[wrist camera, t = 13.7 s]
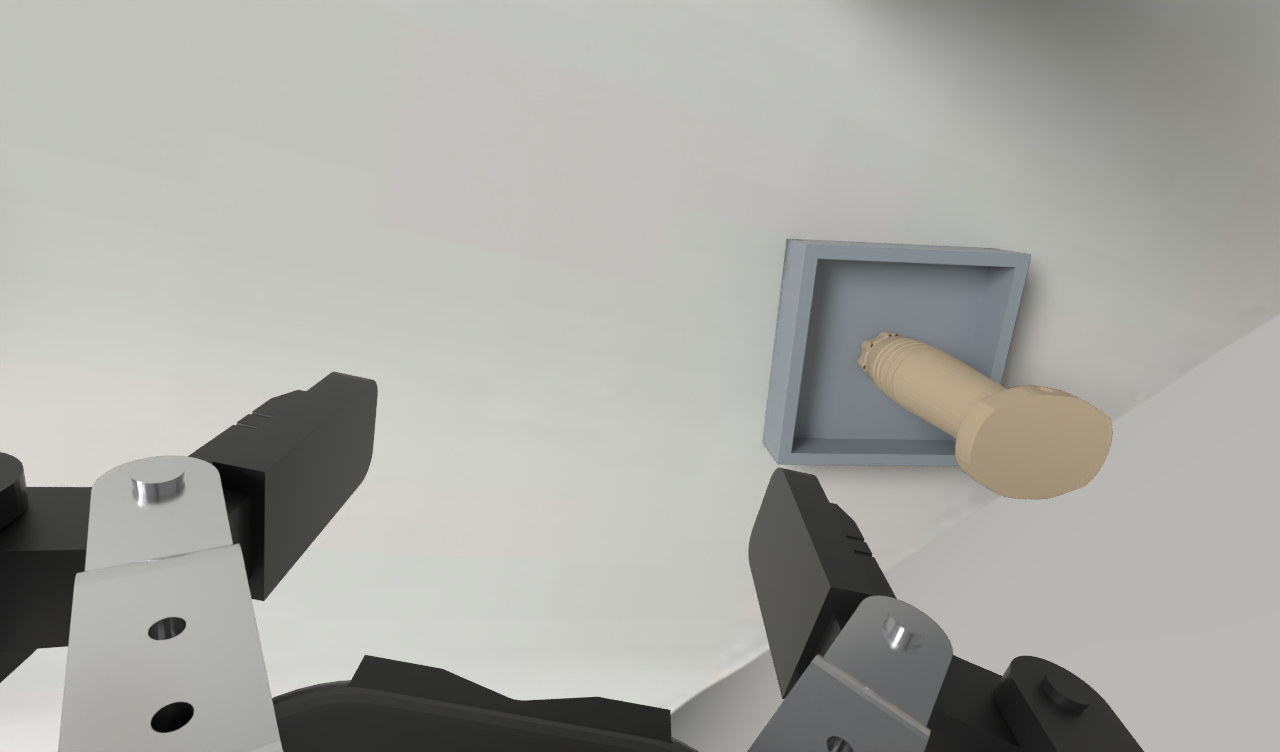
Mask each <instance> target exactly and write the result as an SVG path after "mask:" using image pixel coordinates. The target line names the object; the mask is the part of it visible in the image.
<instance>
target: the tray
mask: <svg viewBox="0 0 1280 752" xmlns="http://www.w3.org/2000/svg"><path fill="white" fill-rule="evenodd" d="M1030 258H1031V254H1026V253H1019V252H1013V251H1007V250H1000V249H994V248H972V247H951V246H929V245H908V244H886V243H865V242H843V241H822V240H800V239H787V243H786V252H785V260H784V268H783V277H782V285H781V293H780V302H779V310H778V318H777V326H776V335H775V343H774V351H773V360H772V368H771V376H770V385H769V393H768V401H767V410H766V418H765V426H764V435H763V444H764V445H765V447H766V448H767V450H768V451H769V453H770V454H771V456H772V457H773V459H774V460H775V461H776V463H777V464H782V465H894V466H959V465H958V463H957V459H956V455H955V445H956V438H954V437H952V436H951V435H949V434H947V433H946V432H944V431H942V430H940V429H939V428H937V427H935V426H933V425H932V424H930V423H928V422H926V421H925V420H923V419H921V418H919V417H918V416H916V415H914V414H912V413H911V412H909V411H907V410H905V409H904V408H903V407H901V406H900V405H899V404H897V403H896V402H894V401H893V400H892V399H890V398H889V397H888V396H887V395H886V394H885V393H883V392H882V391H881V390H880V389H879V388H878V387H877V386H876V385H875V384H874V382H873V381H872V380H871V379H870V377H869V375H868V373H866V372H863V371H862V370H861V369H860V367H859V365H858V362H857V361H858V359H859V358H860V356H861V352H862V348H861V344H862V343H863V342H864V341H865V340H871V339H873V338H875V337H877V336H878V335H879V334H880V333H881V332H892V333H896V334H898V335H899V336H902V337H907V338H911V339H914V340H917V341H920V342H923V343H926V344H928V345H931V346H933V347H936V348H938V349H940V350H942V351H944V352H947V353H948V354H950V355H952V356H953V357H955V358H957V359H958V360H960V361H962V362H963V363H965V364H967V365H968V366H970V367H972V368H973V369H975V370H977V371H978V372H980V373H982V374H983V375H985V376H987V377H989V378H990V379H992V380H994V381H996V382H997V383H999V384H1001V380H1002V376H1003V372H1004V368H1005V364H1006V359H1007V355H1008V351H1009V347H1010V343H1011V338H1012V334H1013V330H1014V326H1015V322H1016V317H1017V313H1018V309H1019V305H1020V301H1021V296H1022V292H1023V288H1024V284H1025V280H1026V275H1027V271H1028V267H1029V263H1030Z"/></svg>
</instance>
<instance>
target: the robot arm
mask: <svg viewBox="0 0 1280 752" xmlns="http://www.w3.org/2000/svg"><path fill="white" fill-rule="evenodd" d="M377 393H378V391H377V384H376V382H375V381H374V380H371V379H366V378H362V377H357V376H352V375H348V374H343V373H338V372H332V373H330V374H329V375H328V376H326V377H325V378H324V379H322V380H321V381H320V382H318V383H317V384H316V385H314V386H313V387H312V388H310V389H309V390H308V391H301V390H296V391H293V392H290V393H287V394H284V395H281V396H278V397H274V398H271V399H270V400H268V401H267V402H265V403H264V404H263V405H261V406H260V407H258V408H257V409H255V410H254V411H253V412H252V415H251V414H248V415H247V416H245V417H244V418H242V419H241V420H240V421H238V422H237V425H232V426H231V427H230V428H228V429H227V430H225V431H224V432H222V433H221V434H219V435H218V436H217V437H215V438H214V439H212V440H211V441H209V442H208V443H206V444H205V445H204V446H202V447H201V448H199V449H198V450H196V451H195V452H194V453H192V454H191V455H189V456H188V457H186V456H157V457H150V458H144V459H139V460H135V461H132V462H128V463H125V464H122V465H120V466H117V467H115V468H113V469H111V470H109V471H107V472H106V473H104V474H103V475H102V476H100V477H99V478H98V479H97V480H96V482H95V483H94V484H93V487H26V482H25V476H24V469H23V465H22V463H21V462H20V461H19V460H18V459H17V458H15V457H13V456H11V455H8V454H6V453H1V452H0V683H1V682H2V681H3V680H4V679H5V678H6V677H7V676H8V675H9V674H11V673H12V672H13V671H14V670H15V669H16V668H17V667H18V666H19V665H20V664H21V663H23V662H24V661H25V660H26V659H27V658H28V657H29V656H30V655H31V654H32V653H33V652H34V651H35V650H36V649H37V648H51V647H64V646H68V655H67V665H66V676H65V686H64V696H63V707H62V717H61V727H60V737H59V748H58V752H698V751H697V750H695V749H694V748H692V747H690V746H688V745H687V744H685V743H683V742H681V741H679V740H677V739H674V738H673V737H671V716H670V710H668V709H662V708H657V707H651V706H645V705H640V704H634V703H629V702H623V701H618V700H612V699H607V698H601V697H585V698H565V699H546V700H527V701H521V700H514V699H511V698H508V697H506V696H504V695H501V694H499V693H497V692H494V691H492V690H490V689H487V688H485V687H483V686H481V685H478V684H476V683H474V682H471V681H469V680H467V679H464V678H462V677H460V676H458V675H455V674H453V673H451V672H448V671H446V670H444V669H440V668H435V667H429V666H424V665H418V664H413V663H407V662H401V661H396V660H390V659H385V658H379V657H374V656H368V655H365V656H364V658H363V660H362V662H361V663H360V665H359V667H358V669H357V671H356V673H355V674H354V676H353V678H352V680H349V681H336V682H330V683H323V684H317V685H313V686H309V687H305V688H301V689H297V690H294V691H291V692H288V693H285V694H282V695H279V696H276V697H274V698H272V697H271V692H270V687H269V682H268V677H267V672H266V667H265V663H264V658H263V653H262V648H261V643H260V638H259V633H258V628H257V624H256V619H255V614H254V609H253V604H252V599H256V600H261V601H264V600H265V599H266V598H267V597H268V595H269V594H270V593H271V592H272V591H273V589H274V588H275V587H276V586H277V585H278V583H279V582H280V581H281V580H282V579H283V577H284V576H285V575H286V574H287V572H288V571H289V570H290V569H291V568H292V566H293V565H294V564H295V563H296V562H297V560H298V559H299V558H300V557H301V555H302V554H303V553H304V552H305V551H306V549H307V548H308V547H309V546H310V545H311V543H312V542H313V541H314V540H315V539H316V537H317V536H318V535H319V534H320V532H321V531H322V530H323V529H324V528H325V526H326V525H327V524H328V523H329V522H330V520H331V519H332V518H333V517H334V516H335V514H336V513H337V512H338V511H339V509H340V508H341V507H342V506H343V505H344V503H345V502H346V501H347V500H348V499H349V497H350V496H351V495H352V494H353V492H354V491H355V490H356V489H357V488H358V486H359V485H360V484H361V483H362V481H363V479H364V478H365V476H366V474H367V471H368V469H369V466H370V462H371V458H372V453H373V442H374V430H375V418H376V406H377ZM749 564H750V568H751V572H752V576H753V580H754V584H755V588H756V592H757V597H758V601H759V605H760V609H761V613H762V617H763V621H764V625H765V630H766V634H767V638H768V642H769V646H770V650H771V654H772V658H773V663H774V667H775V671H776V675H777V679H778V683H779V687H780V691H781V695H782V699H784V701H783V702H782V704H781V705H780V707H779V708H778V709H777V711H776V712H775V714H774V715H773V716H772V718H771V719H770V721H769V722H768V723H767V725H766V726H765V727H764V729H763V730H762V732H761V733H760V735H759V736H758V737H757V739H756V740H755V741H754V743H753V744H752V746H751V747H750V749H749V750H748V751H747V752H1144V751H1143V750H1142V748H1141V747H1140V746H1139V745H1138V743H1137V742H1136V740H1135V739H1134V738H1133V736H1132V735H1131V734H1130V733H1129V731H1128V730H1127V729H1126V727H1125V726H1124V725H1123V723H1122V722H1121V721H1120V719H1119V718H1118V717H1117V715H1116V714H1115V713H1114V711H1113V710H1112V709H1111V708H1110V706H1109V705H1108V704H1107V703H1106V702H1105V700H1104V699H1103V698H1102V697H1101V696H1100V695H1099V694H1098V693H1097V692H1096V691H1095V690H1094V689H1092V688H1091V687H1090V686H1089V685H1088V684H1087V683H1085V682H1084V681H1083V680H1081V679H1080V678H1078V677H1077V676H1076V675H1074V674H1073V673H1071V672H1069V671H1068V670H1066V669H1064V668H1062V667H1060V666H1058V665H1056V664H1054V663H1052V662H1050V661H1047V660H1044V659H1041V658H1037V657H1032V656H1019V657H1016V658H1015V659H1013V661H1012V662H1011V663H1010V665H1009V667H1008V668H1007V670H1006V672H1005V673H1004V675H1003V676H1001V675H998V674H996V673H994V672H991V671H989V670H986V669H984V668H982V667H980V666H977V665H975V664H972V663H970V662H968V661H965V660H963V659H961V658H959V657H956V656H954V655H953V649H952V645H951V642H950V640H949V639H948V637H947V635H946V634H945V632H944V631H943V630H942V629H941V627H940V626H939V625H938V624H937V623H936V622H935V621H933V620H932V619H931V618H930V617H929V616H928V615H926V614H925V613H924V612H922V611H920V610H919V609H917V608H916V607H914V606H912V605H910V604H908V603H906V602H904V601H901V600H898V599H897V598H896V597H895V595H894V593H893V591H892V589H891V587H890V585H889V584H888V582H887V580H886V578H885V576H884V574H883V573H882V571H881V569H880V567H879V565H878V563H877V562H876V560H875V558H874V557H872V552H871V550H870V549H869V547H868V545H867V543H866V542H864V538H863V536H862V534H861V532H860V530H859V528H858V527H857V525H856V523H855V521H854V520H853V519H852V518H851V517H850V516H848V515H847V514H846V513H845V512H844V511H843V510H842V509H841V508H840V507H839V506H838V505H837V504H833V503H829V501H828V499H827V497H826V495H825V493H824V491H823V489H822V487H821V485H820V483H819V481H818V479H817V477H816V476H815V475H812V474H807V473H802V472H797V471H793V470H788V469H783V468H777V469H776V470H775V471H774V473H773V475H772V477H771V479H770V482H769V485H768V488H767V490H766V493H765V496H764V499H763V501H762V504H761V507H760V510H759V513H758V515H757V518H756V521H755V524H754V527H753V529H752V533H751V537H750V542H749Z"/></svg>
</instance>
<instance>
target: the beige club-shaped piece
mask: <svg viewBox="0 0 1280 752" xmlns="http://www.w3.org/2000/svg"><path fill="white" fill-rule="evenodd" d="M861 348H862V352H861V356H860V358H859V359H858V361H857V362H858V365H859V367H860V369H861V370H862V371H863V372H866V373H868V375H869V377H870V379H871V380H872V381H873V382H874V384H875V385H876V386H877V387H878V388H879V389H880V390H881V391H882V392H883V393H885V394H886V395H887V396H888V397H889V398H890V399H892V400H893V401H894V402H896V403H897V404H899V405H900V406H901V407H903V408H904V409H905V410H907V411H909V412H911V413H912V414H914V415H916V416H918V417H919V418H921V419H923V420H925V421H926V422H928V423H930V424H932V425H933V426H935V427H937V428H939V429H940V430H942V431H944V432H946V433H947V434H949V435H951V436H952V437H954V438H956V445H955V455H956V459H957V463H958V465H959V467H960V469H961V470H962V471H963V472H965V473H966V474H967V475H968V476H970V477H971V478H972V479H974V480H975V481H977V482H978V483H980V484H982V485H983V486H985V487H986V488H988V489H990V490H991V491H993V492H995V493H997V494H999V495H1002V496H1004V497H1009V498H1018V499H1047V498H1052V497H1056V496H1059V495H1062V494H1065V493H1068V492H1070V491H1073V490H1076V489H1078V488H1081V487H1084V486H1086V485H1087V484H1088V483H1089V482H1090V481H1091V480H1092V479H1093V478H1094V477H1095V476H1096V475H1097V473H1098V472H1099V471H1100V469H1101V467H1102V466H1103V464H1104V462H1105V460H1106V457H1107V455H1108V453H1109V449H1110V446H1111V442H1112V434H1113V431H1112V424H1111V420H1110V417H1108V416H1107V415H1105V414H1104V413H1103V412H1101V411H1100V410H1098V409H1097V408H1095V407H1094V406H1092V405H1091V404H1089V403H1088V402H1085V401H1083V400H1081V399H1079V398H1077V397H1075V396H1073V395H1071V394H1069V393H1066V392H1064V391H1061V390H1057V389H1052V388H1046V387H1041V386H1035V385H1022V386H1017V387H1013V388H1009V389H1008V388H1006V387H1004V386H1002V385H1001V384H999V383H997V382H996V381H994V380H992V379H990V378H989V377H987V376H985V375H983V374H982V373H980V372H978V371H977V370H975V369H973V368H972V367H970V366H968V365H967V364H965V363H963V362H962V361H960V360H958V359H957V358H955V357H953V356H952V355H950V354H948V353H947V352H944V351H942V350H940V349H938V348H936V347H933V346H931V345H928V344H926V343H923V342H920V341H917V340H914V339H911V338H907V337H902V336H899V335H898V334H896V333H892V332H881V333H880V334H879V335H878V336H877V337H875V338H873V339H871V340H865V341H864V342H863V343H862V344H861Z"/></svg>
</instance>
